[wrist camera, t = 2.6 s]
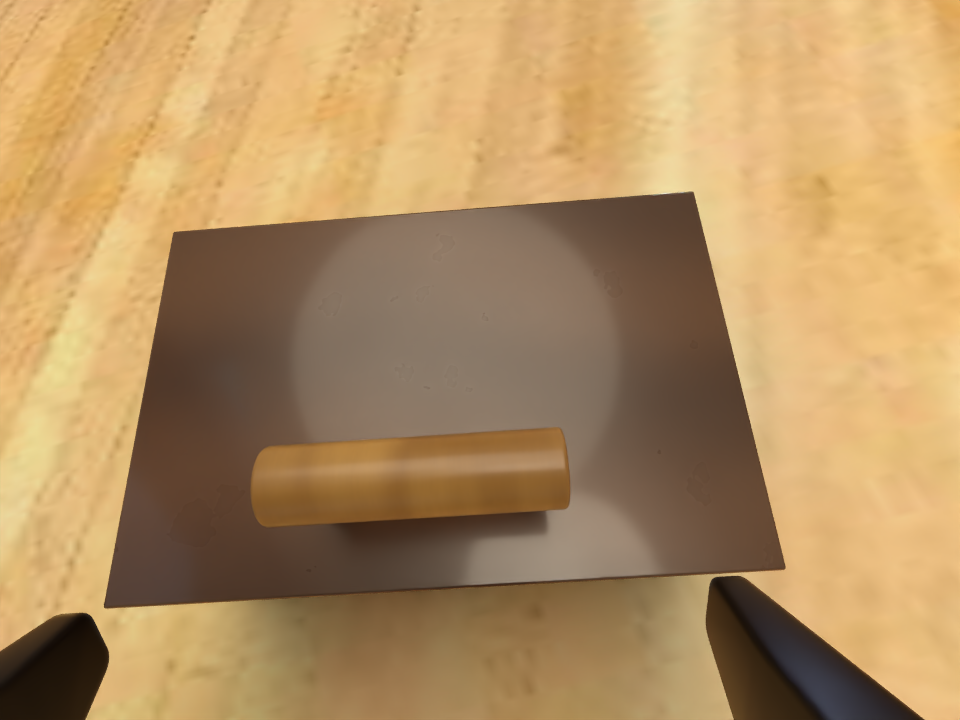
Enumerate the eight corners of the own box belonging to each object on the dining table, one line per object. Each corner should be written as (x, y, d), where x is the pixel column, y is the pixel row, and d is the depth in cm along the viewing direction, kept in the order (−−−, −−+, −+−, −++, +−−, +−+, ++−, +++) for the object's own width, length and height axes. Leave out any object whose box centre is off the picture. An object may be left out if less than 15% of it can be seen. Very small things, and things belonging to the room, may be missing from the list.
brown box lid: (771, 570, 13) (904, 566, 9) (124, 607, 13) (-63, 621, 9) (685, 207, 17) (747, 77, 12) (187, 246, 17) (77, 133, 13)
